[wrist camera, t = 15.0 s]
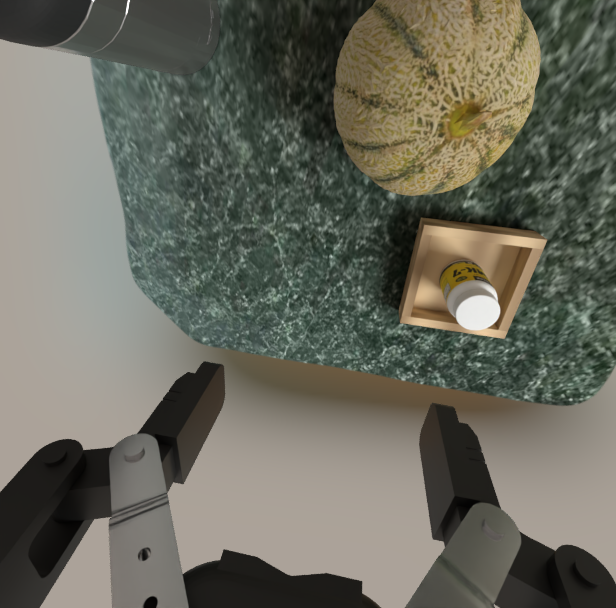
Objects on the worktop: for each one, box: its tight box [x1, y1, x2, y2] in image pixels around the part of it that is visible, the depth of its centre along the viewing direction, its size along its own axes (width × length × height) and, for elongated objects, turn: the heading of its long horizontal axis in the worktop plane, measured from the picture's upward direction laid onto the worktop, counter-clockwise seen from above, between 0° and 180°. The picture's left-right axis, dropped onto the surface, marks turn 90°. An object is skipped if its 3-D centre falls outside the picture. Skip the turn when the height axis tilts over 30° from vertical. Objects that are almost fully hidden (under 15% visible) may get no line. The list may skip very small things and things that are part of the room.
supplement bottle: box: [439, 260, 500, 330], centre depth 37 cm, size 5×5×8 cm
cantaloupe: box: [334, 0, 541, 196], centre depth 27 cm, size 15×15×15 cm
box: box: [399, 217, 547, 339], centre depth 39 cm, size 12×12×3 cm
